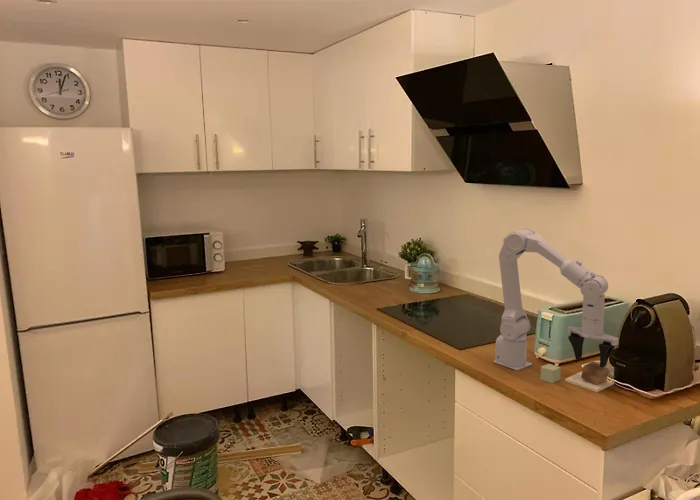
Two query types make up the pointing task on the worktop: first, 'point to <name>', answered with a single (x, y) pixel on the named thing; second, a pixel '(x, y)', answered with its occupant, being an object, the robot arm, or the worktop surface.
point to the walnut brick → (595, 373)
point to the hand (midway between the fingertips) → (590, 362)
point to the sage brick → (550, 373)
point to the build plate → (587, 383)
